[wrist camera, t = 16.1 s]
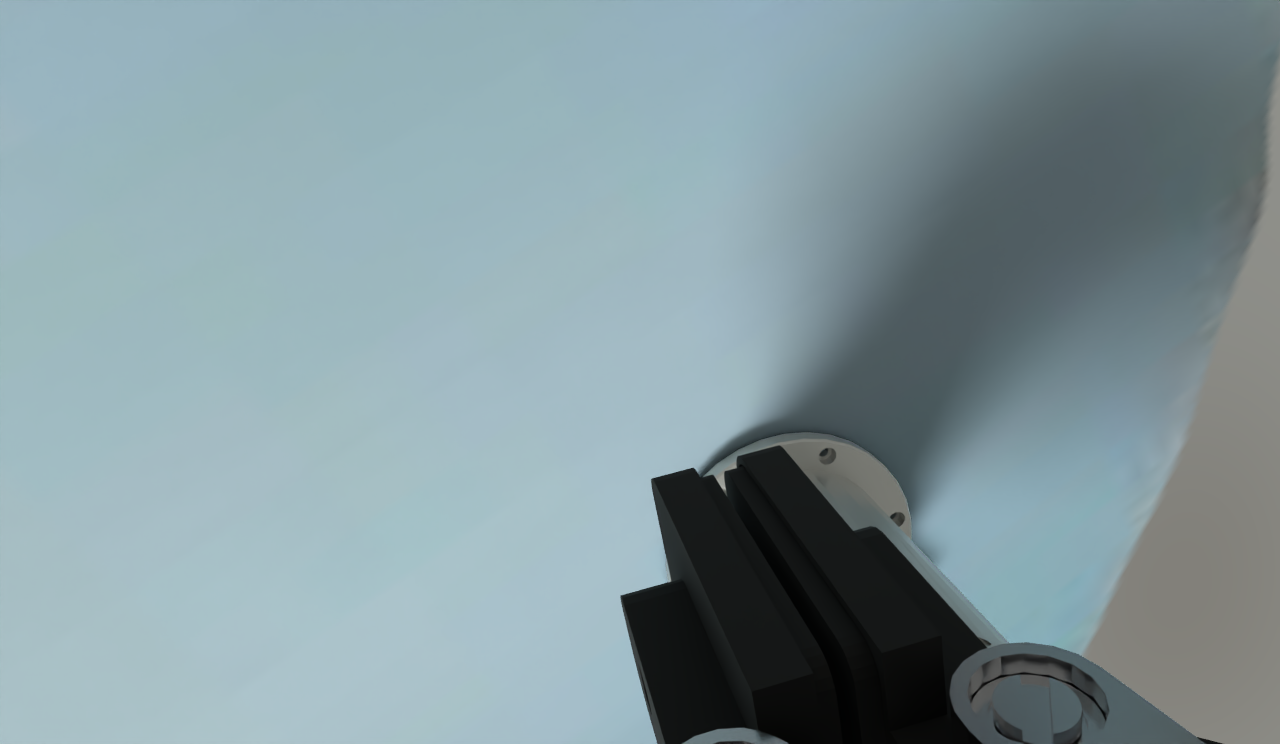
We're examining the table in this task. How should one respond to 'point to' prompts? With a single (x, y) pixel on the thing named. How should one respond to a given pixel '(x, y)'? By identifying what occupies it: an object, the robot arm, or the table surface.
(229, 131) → the table surface
